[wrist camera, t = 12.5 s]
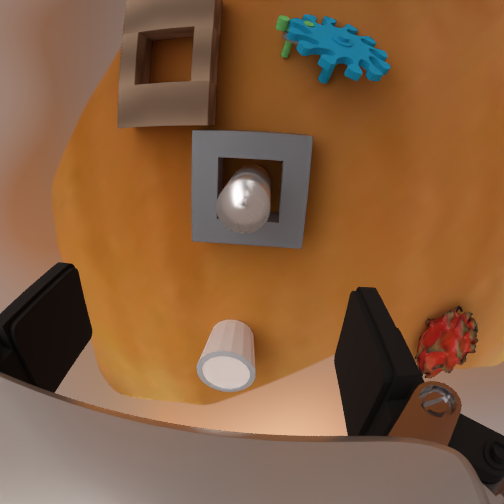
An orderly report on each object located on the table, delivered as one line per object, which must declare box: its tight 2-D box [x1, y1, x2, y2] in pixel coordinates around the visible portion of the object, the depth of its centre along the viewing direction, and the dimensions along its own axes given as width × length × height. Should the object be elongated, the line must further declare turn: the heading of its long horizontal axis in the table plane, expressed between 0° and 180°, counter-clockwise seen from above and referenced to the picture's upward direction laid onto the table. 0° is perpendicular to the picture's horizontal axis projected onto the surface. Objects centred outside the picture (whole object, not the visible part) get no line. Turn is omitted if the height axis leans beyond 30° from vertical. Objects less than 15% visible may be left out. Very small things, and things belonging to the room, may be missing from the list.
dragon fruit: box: [415, 306, 478, 378], centre depth 36 cm, size 8×8×12 cm
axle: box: [216, 164, 271, 234], centre depth 28 cm, size 4×4×10 cm
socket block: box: [191, 129, 313, 249], centre depth 31 cm, size 11×11×4 cm
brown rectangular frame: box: [118, 0, 222, 128], centre depth 26 cm, size 14×9×4 cm, turn 177°
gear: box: [276, 14, 391, 84], centre depth 25 cm, size 11×6×10 cm
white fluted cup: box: [196, 319, 255, 392], centre depth 37 cm, size 7×7×7 cm
